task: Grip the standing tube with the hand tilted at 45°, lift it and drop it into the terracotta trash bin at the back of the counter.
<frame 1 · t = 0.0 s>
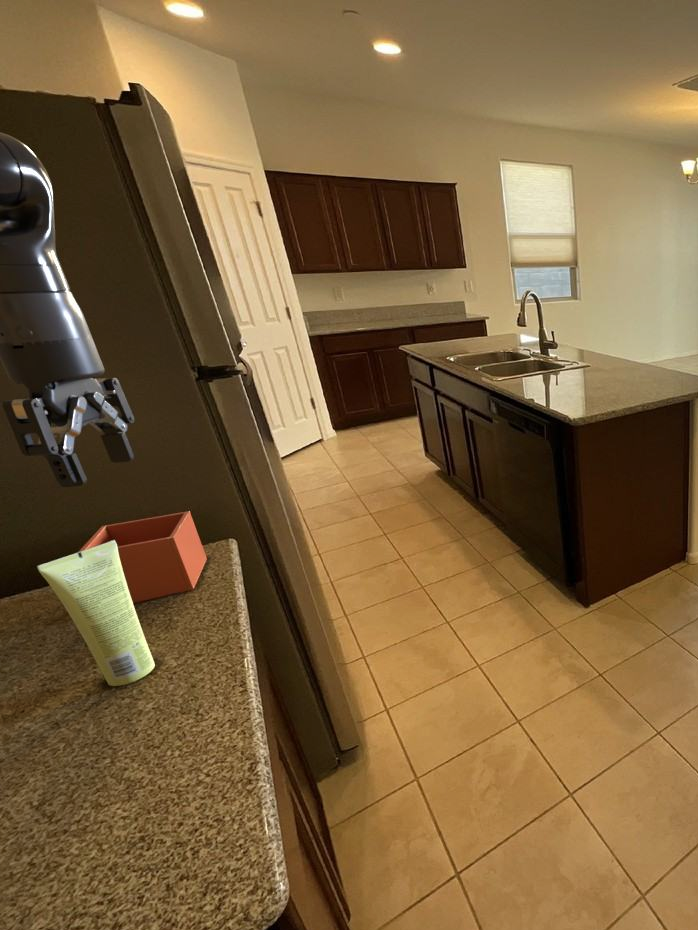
hand: (100, 472, 63), 30 cm above the countertop, tool pointing down, fingers open, 8 cm apart
trash bin: (158, 584, 94), on the countertop
tube: (135, 675, 73), on the countertop
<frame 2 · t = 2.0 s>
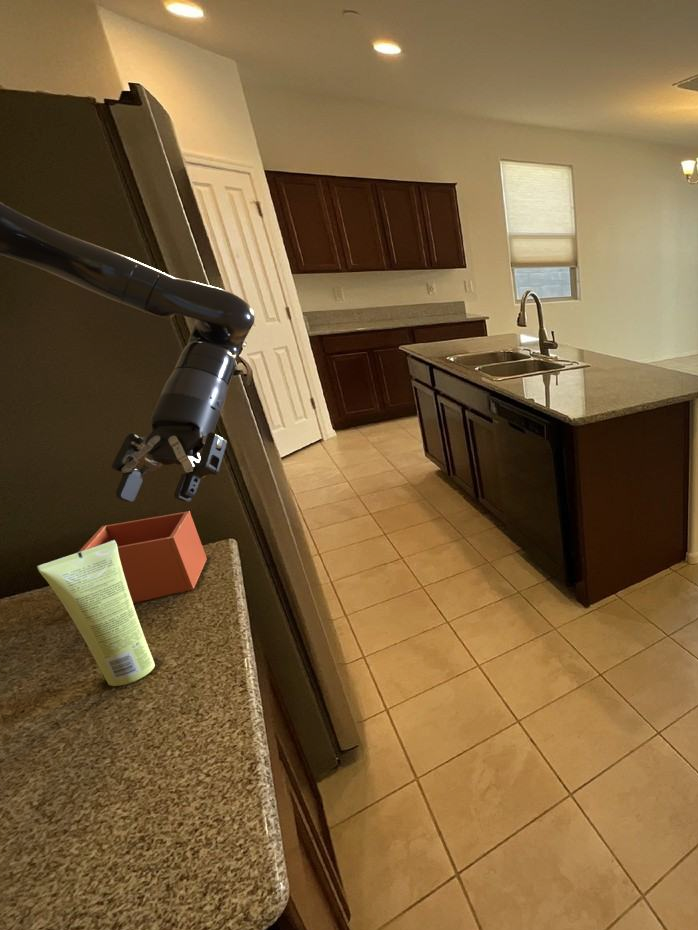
hand: (153, 499, 76), 22 cm above the countertop, tool tilted 45°, fingers open, 8 cm apart
nothing on the countertop moved.
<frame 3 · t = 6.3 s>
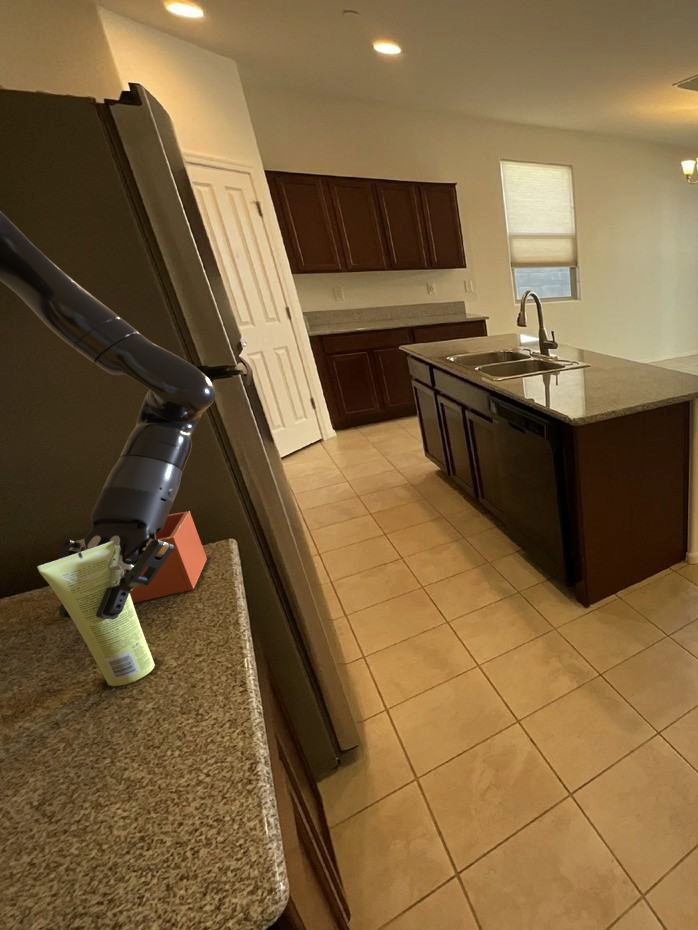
hand: (88, 617, 67), 11 cm above the countertop, tool tilted 45°, fingers closed on tube, 4 cm apart
tube: (135, 675, 73), on the countertop, touching gripper
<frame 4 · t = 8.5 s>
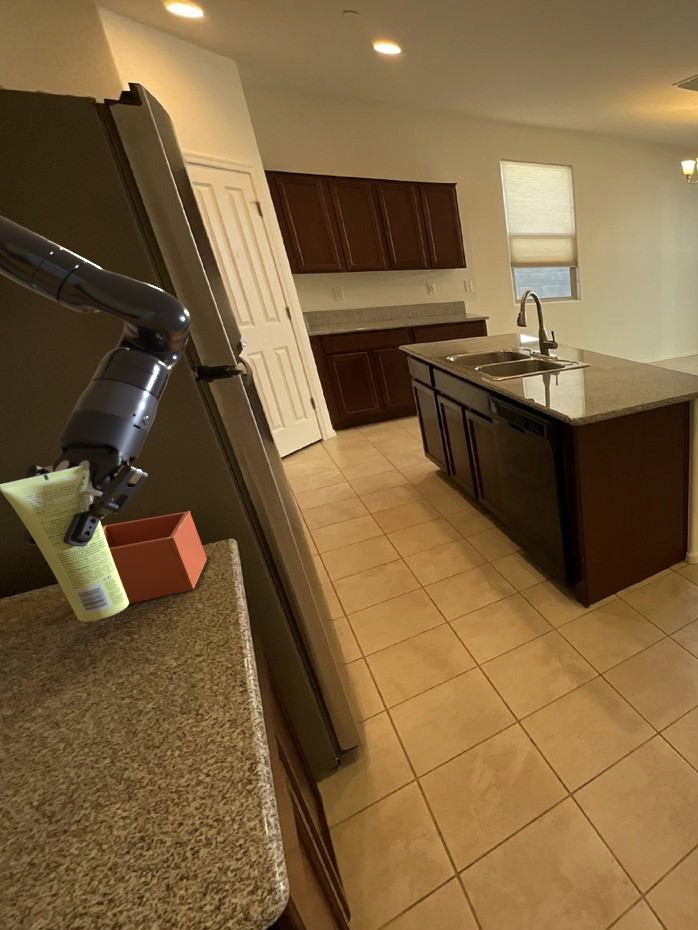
hand: (54, 544, 63), 22 cm above the countertop, tool tilted 45°, fingers closed on tube, 4 cm apart
tube: (107, 612, 69), point 10 cm above the countertop, touching gripper
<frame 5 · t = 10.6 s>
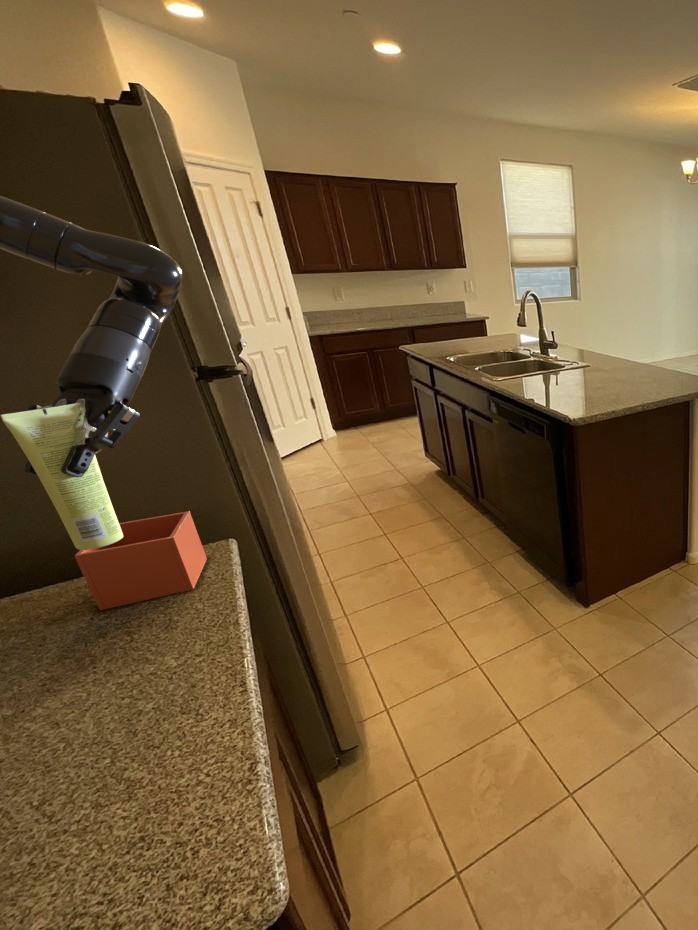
hand: (53, 474, 68), 28 cm above the countertop, tool tilted 45°, fingers closed on tube, 4 cm apart
tube: (103, 543, 74), point 17 cm above the countertop, touching gripper
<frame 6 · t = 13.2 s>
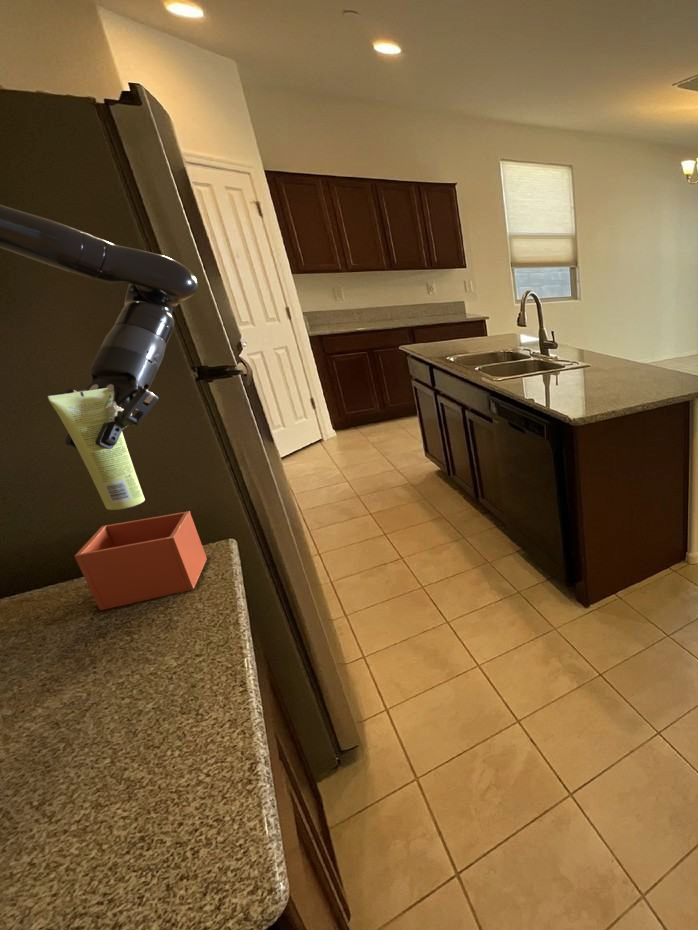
hand: (88, 446, 83), 27 cm above the countertop, tool tilted 45°, fingers closed on tube, 4 cm apart
tube: (128, 505, 89), point 16 cm above the countertop, touching gripper
when the fingers open (21 cm above the countertop, at t = 15.4 s): tube drops 8 cm, resting on trash bin.
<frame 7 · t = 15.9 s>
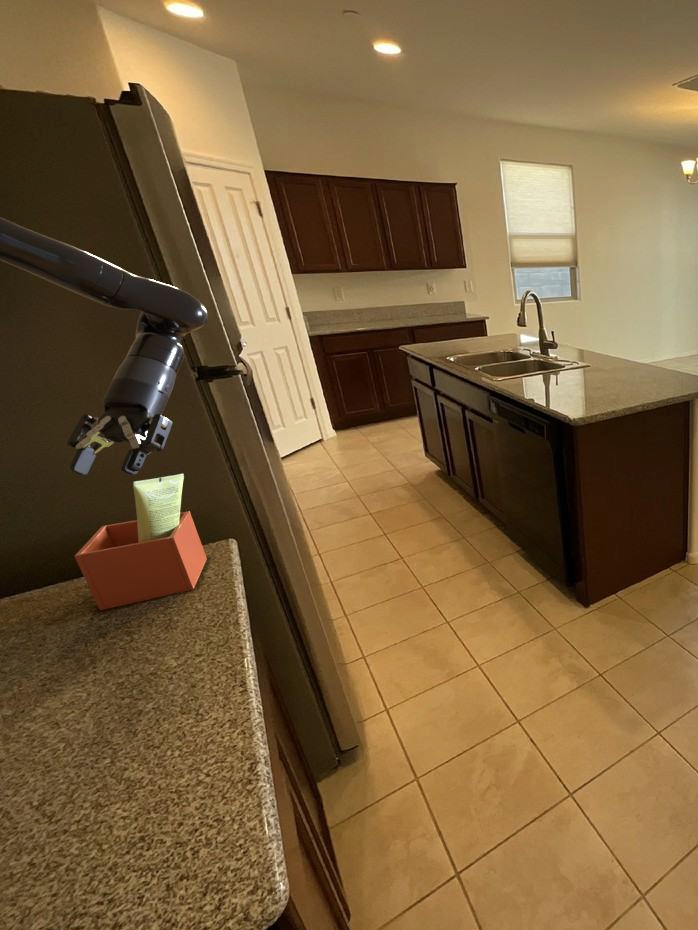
hand: (103, 472, 85), 22 cm above the countertop, tool tilted 45°, fingers open, 8 cm apart
tube: (159, 577, 94), point 1 cm above the countertop, touching trash bin
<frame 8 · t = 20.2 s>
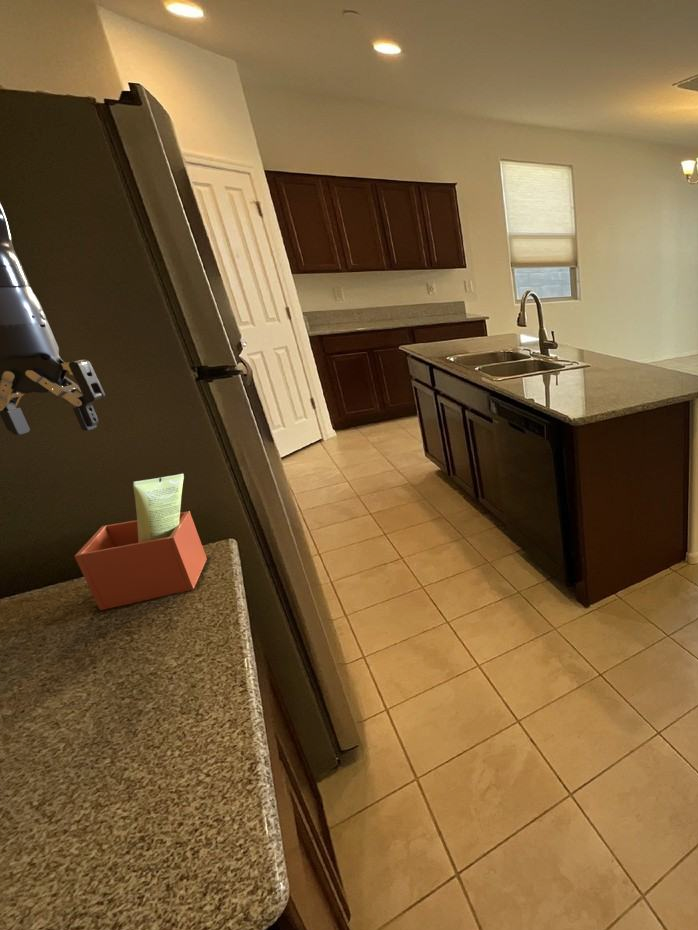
hand: (56, 431, 80), 30 cm above the countertop, tool pointing down, fingers open, 8 cm apart
nothing on the countertop moved.
at the end: tube inside the target area in the trash bin (0.5 cm from its centre), point 1.3 cm above the trash bin's base; the gripper is holding nothing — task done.
